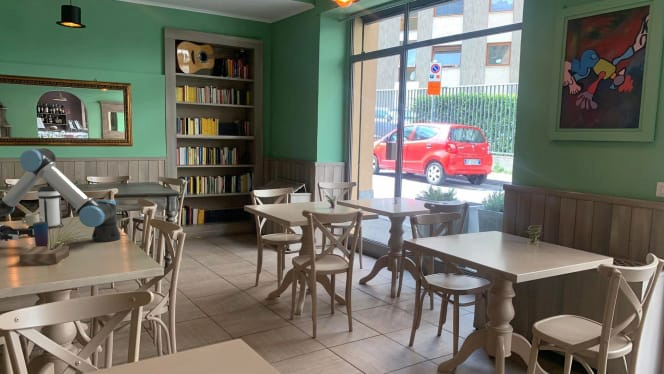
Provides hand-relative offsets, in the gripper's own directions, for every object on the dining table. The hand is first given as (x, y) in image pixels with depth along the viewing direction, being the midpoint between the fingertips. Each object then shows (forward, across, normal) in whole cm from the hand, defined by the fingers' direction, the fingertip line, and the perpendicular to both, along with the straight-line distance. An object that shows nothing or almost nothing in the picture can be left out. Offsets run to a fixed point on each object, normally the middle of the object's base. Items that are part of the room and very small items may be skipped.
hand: (30, 235), depth 264 cm
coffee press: (-46, -50, -8) cm, 68 cm away
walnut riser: (+25, +12, -8) cm, 29 cm away
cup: (+8, 0, -8) cm, 11 cm away
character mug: (-31, -25, -8) cm, 41 cm away
